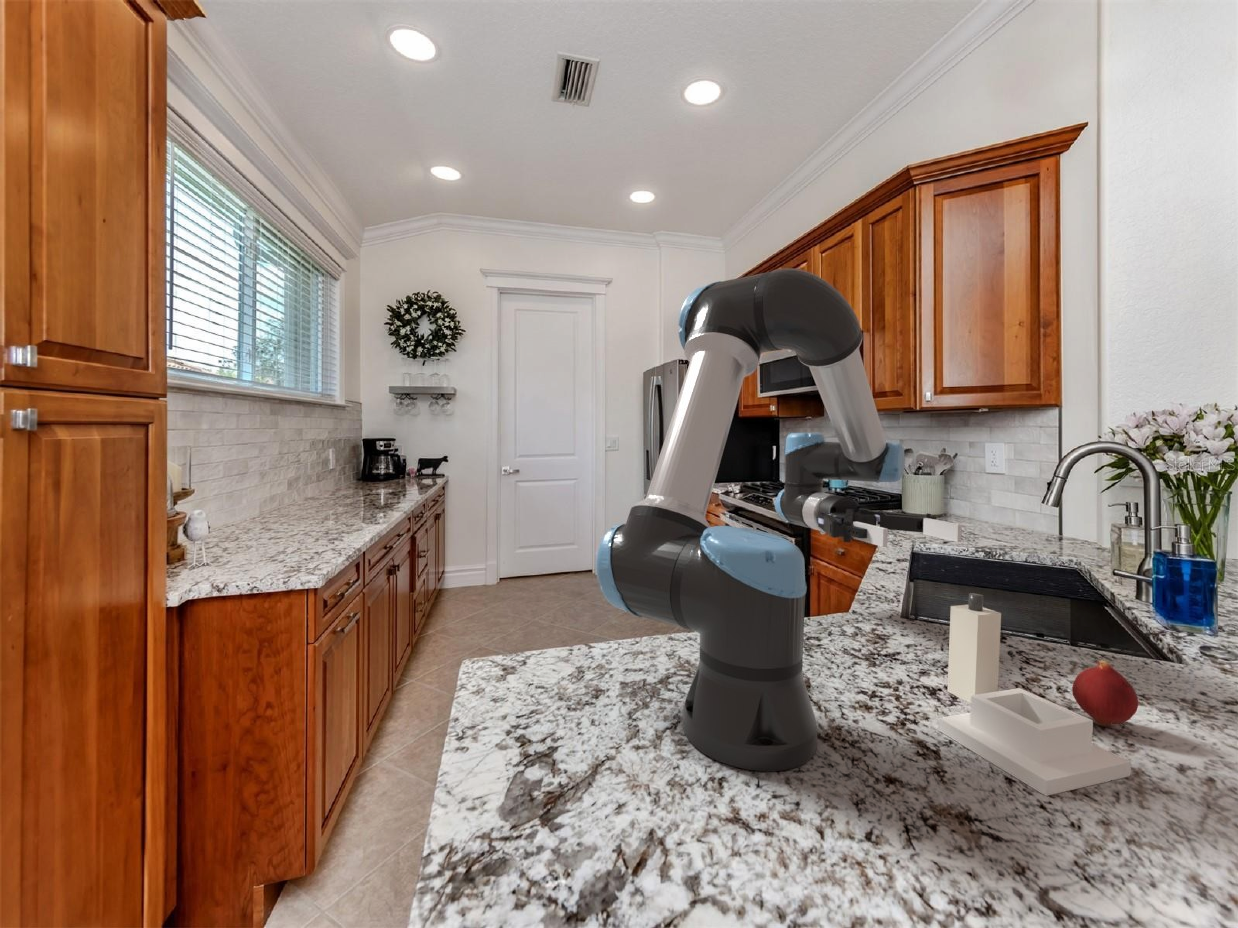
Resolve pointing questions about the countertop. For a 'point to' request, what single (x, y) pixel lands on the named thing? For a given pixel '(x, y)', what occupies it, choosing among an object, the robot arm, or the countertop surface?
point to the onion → (1105, 694)
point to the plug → (973, 649)
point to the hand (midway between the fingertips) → (923, 535)
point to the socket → (1034, 741)
